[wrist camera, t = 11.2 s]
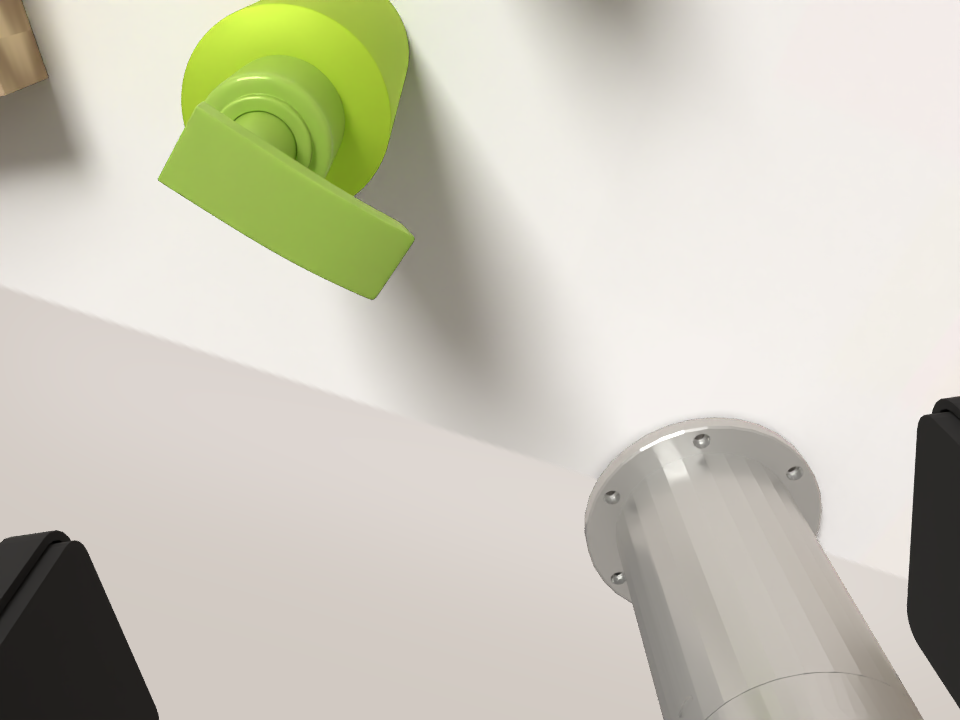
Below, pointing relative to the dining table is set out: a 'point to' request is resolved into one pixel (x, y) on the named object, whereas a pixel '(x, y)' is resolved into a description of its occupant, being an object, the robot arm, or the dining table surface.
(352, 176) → the soap dispenser
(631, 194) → the dining table surface
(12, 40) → the housing
